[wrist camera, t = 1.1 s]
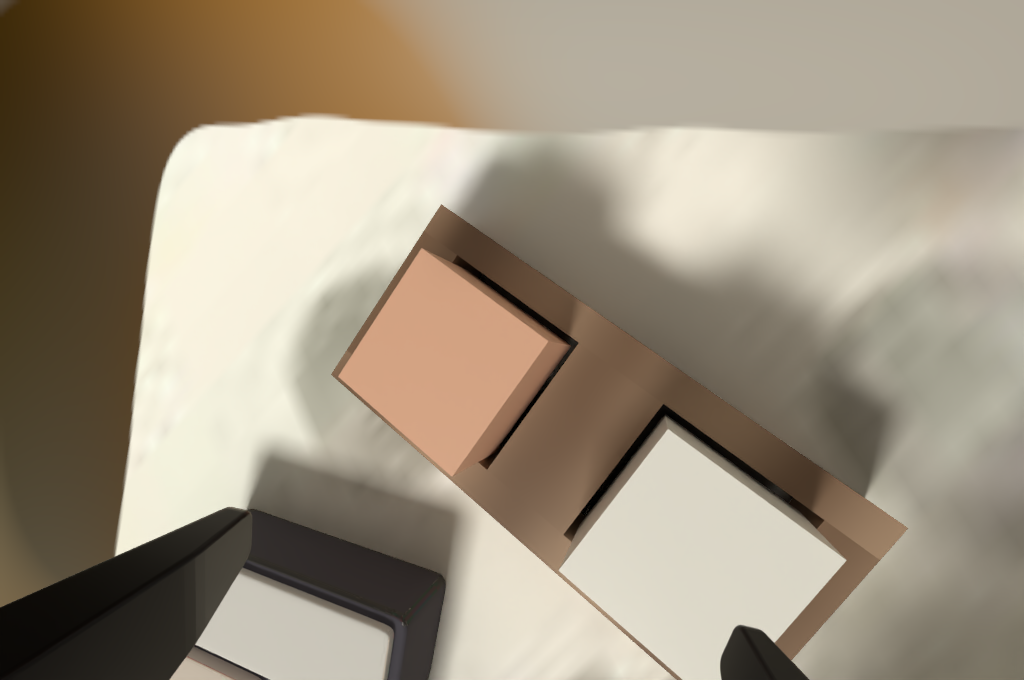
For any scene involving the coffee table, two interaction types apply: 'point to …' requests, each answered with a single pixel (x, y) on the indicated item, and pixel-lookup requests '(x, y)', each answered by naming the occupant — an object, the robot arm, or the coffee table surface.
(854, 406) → the coffee table surface
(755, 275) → the coffee table surface
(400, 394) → the tan wooden block
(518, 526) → the key panel
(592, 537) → the cream key
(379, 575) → the calculator
